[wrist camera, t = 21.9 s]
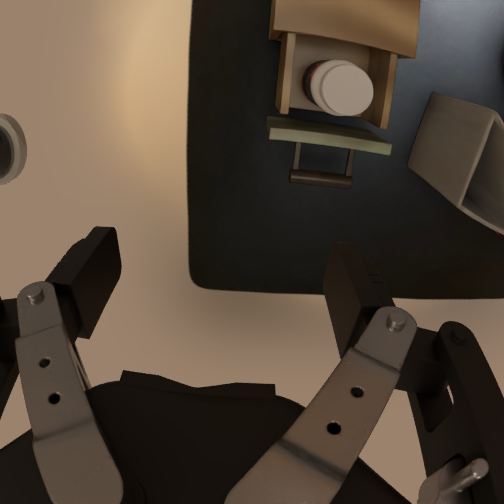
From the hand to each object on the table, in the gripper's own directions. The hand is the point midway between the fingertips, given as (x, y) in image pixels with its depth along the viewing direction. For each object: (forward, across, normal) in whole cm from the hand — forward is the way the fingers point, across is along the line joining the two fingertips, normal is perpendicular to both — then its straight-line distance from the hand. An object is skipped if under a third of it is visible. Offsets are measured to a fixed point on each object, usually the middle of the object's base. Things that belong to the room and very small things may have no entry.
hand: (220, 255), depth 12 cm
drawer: (+29, -9, -4) cm, 31 cm away
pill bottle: (+28, -9, -6) cm, 30 cm away
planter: (+30, -26, +1) cm, 40 cm away
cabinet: (+30, -9, -18) cm, 36 cm away
